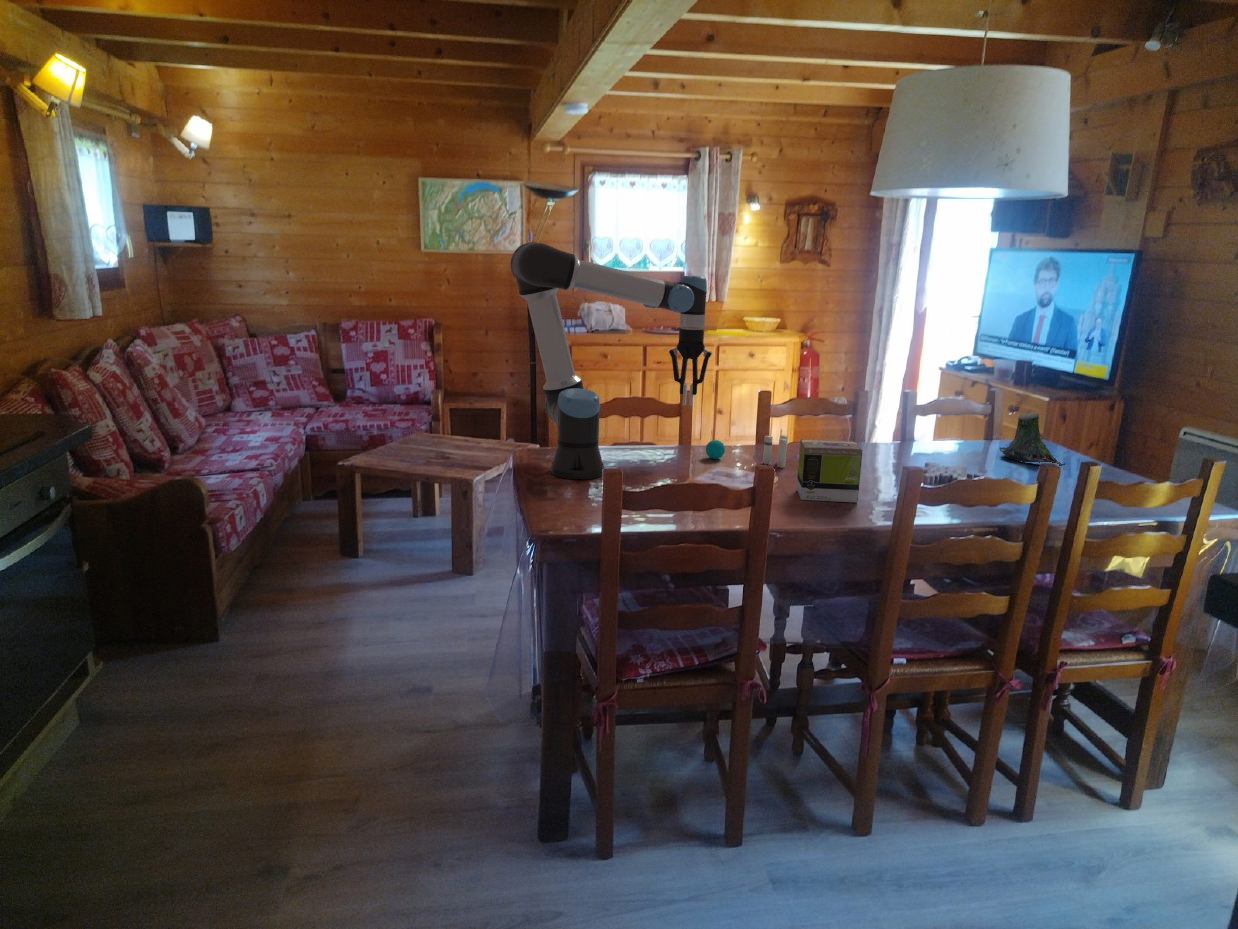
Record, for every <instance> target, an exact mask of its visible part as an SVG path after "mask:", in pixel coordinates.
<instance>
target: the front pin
mask: <svg viewBox="0 0 1238 929" xmlns="http://www.w3.org/2000/svg"><path fill="white" fill-rule="evenodd" d="M773 438H774V437H773V436H771V435H765V436H764V439H763V440H764V441H763V452H762V453H763V454H762V464H763V463H764V464H763V465H767V464H768V465H771V460H772V450H773Z"/></svg>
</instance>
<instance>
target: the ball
mask: <svg viewBox="0 0 1238 929" xmlns="http://www.w3.org/2000/svg"><path fill="white" fill-rule="evenodd" d="M725 452H726V446H725V445H724V443H723V441H721V440H718V439H713V440H710V441H709V442H708V443H707V444H706V446H705V453H706V456H708V458H710V459H712V460H718V459H721V458H722V457H723V456H724V454H725Z"/></svg>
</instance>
